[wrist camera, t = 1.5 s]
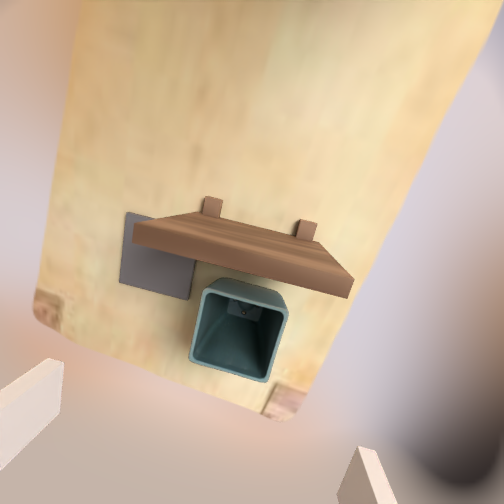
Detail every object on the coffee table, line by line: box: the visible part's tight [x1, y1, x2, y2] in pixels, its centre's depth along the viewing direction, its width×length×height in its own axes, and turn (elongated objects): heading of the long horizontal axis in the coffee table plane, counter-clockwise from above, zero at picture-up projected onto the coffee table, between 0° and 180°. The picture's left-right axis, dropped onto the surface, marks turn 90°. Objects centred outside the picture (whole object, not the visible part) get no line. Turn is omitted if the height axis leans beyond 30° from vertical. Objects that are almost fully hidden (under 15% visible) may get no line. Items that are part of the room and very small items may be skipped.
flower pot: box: [189, 278, 289, 383], centre depth 28 cm, size 9×9×9 cm
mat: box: [119, 212, 196, 300], centre depth 32 cm, size 10×10×1 cm
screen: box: [132, 196, 354, 299], centre depth 24 cm, size 6×16×14 cm, turn 77°
